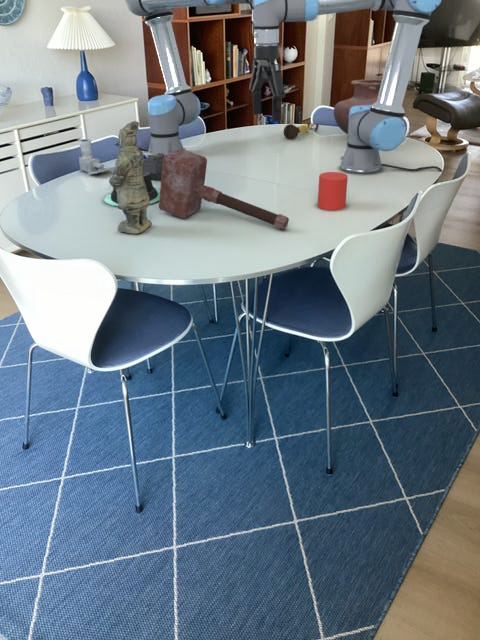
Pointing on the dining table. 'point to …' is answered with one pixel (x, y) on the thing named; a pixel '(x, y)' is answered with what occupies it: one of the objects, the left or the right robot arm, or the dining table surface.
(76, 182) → the dining table surface
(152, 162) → the toy
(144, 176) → the chocolate cake
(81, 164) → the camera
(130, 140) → the statue
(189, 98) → the left robot arm
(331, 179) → the canister
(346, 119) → the clay pot
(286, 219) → the sledgehammer
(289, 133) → the figurine
